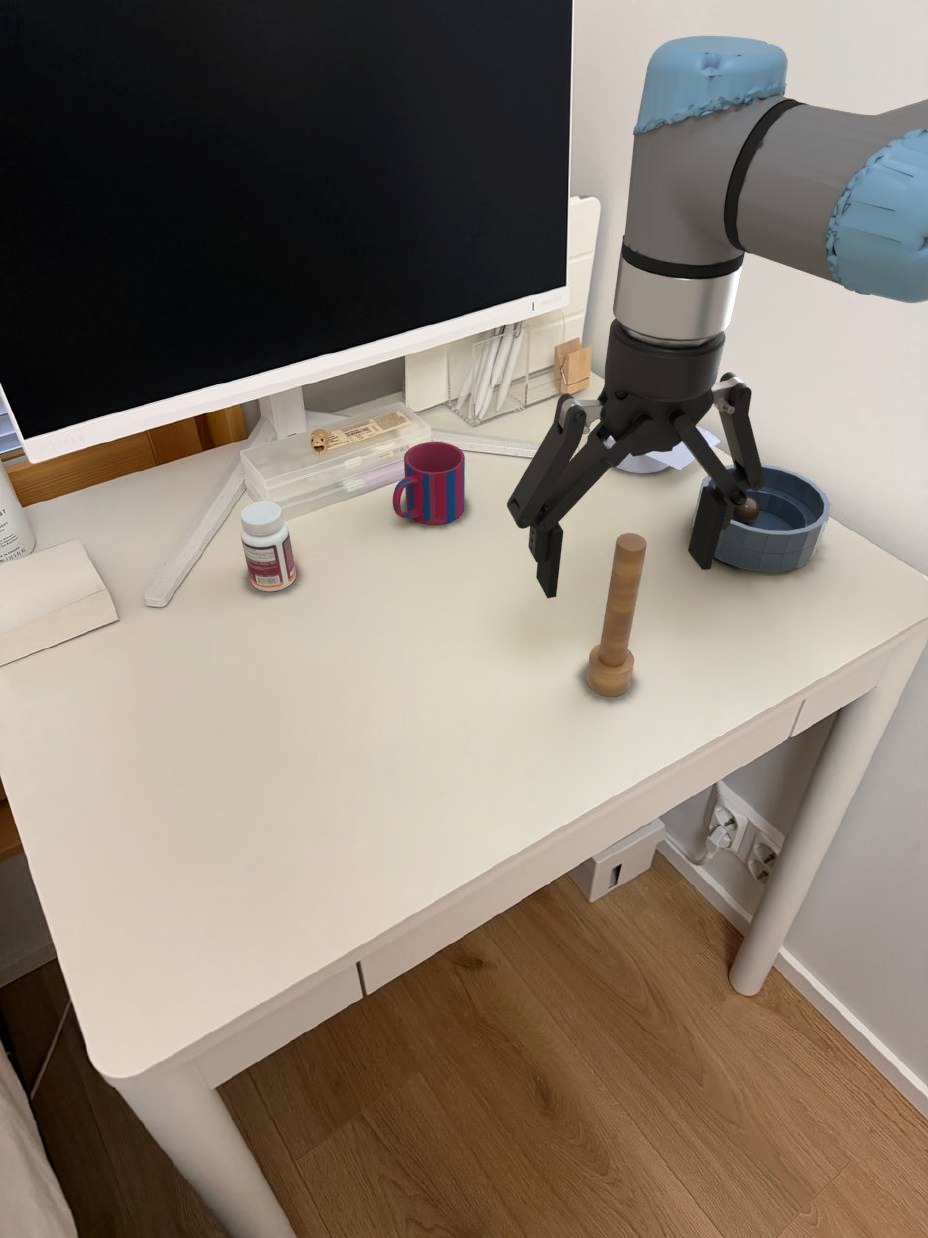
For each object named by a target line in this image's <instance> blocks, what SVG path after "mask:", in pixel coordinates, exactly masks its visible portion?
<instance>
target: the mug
mask: <svg viewBox="0 0 928 1238" xmlns="http://www.w3.org/2000/svg"><path fill="white" fill-rule="evenodd" d="M465 463H466V456H465V453H464V452H463V451H462V450H461V449H460V448H459V447H458V446H456V445H454V444H451V443H449V442H443V441H426V442H421V443H418V444H416V445H414V446H411V447H410V448H409V449H407V450H406V452H405V453H404V455H403V469H404V478H402V479H401V480H400V481H398V483H397V484H396V485H395V487H394V490H393V493H392V508H393V511H394V513H395V514H396V515H397V516H398V517H400V518H402V519H406V520H411V519H412V520H414V521H416V522H418V523H421V524H423V525H424V524H425V525H429V526H430V525H431V526H433V525H434V526H439V525H440V526H441V525H445V524H449V523H452V522H454V521H456V520H458V519H459V518H460V517H461V516H462V515H463V514H464V511H465V486H466V485H465V484H466V483H465V481H466V480H465V475H466V474H465V472H466V471H465V470H466V467H465V466H466V464H465ZM404 490H405V508H406V509H405V510H406V512H403V510H402V506H401V505H402V504H401V499H402V495H403V492H404Z"/></svg>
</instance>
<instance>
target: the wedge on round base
mask: <svg viewBox="0 0 928 1238" xmlns="http://www.w3.org/2000/svg"><path fill="white" fill-rule="evenodd" d="M696 427H697V429H698V430H699V432H700V433H701V434H702V436H703V437H704V438H705V440H706V441H707V442H708V445H709V446H710V447H711V449H713V448H714V447H715V446H717V445H718V444H719V443H721V442H722V440H720V439H719V438H718V437H716V436H715V435H714V434H713V433H711V432H710V431H709V430H707V429H704V428H702V427H700V426H697V425H696ZM615 443H616V442H615V441H614V439H613V438H612V436H610V437H609V438H608V439H607V444H608V445H609V446H610V448H611V447H612V446H613V445H614V444H615ZM695 460H696V459H695V457H694V456H693V455H692V453H691V452H690V451H689V450H688V448H687V447H686V446H685V444H684V443H683V442H681V443H679V444H678V445H677V446H675V447H673V450H672V451H668V452H656V451H652V452H650V453H647V454H645V455H641V456H634V457H633V456H632V455H631V454H629V455H628V456H627V457H626V458H625V459H624V460H623V461H622V462H621V463H620V464H619V465H618V466H617V467H616V469H619V470H621V471H625V472H630V473H635V474H636V473H637V474H650V473H657V472H660V471H663V470H665V469H667V468H668V467H671V468H674V469H676V470H678V471H681V470H683V469H684V468H685V467H686V466H688V465H690V464H691V463H693V462H694V461H695Z"/></svg>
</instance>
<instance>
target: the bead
mask: <svg viewBox="0 0 928 1238" xmlns="http://www.w3.org/2000/svg"><path fill="white" fill-rule="evenodd" d="M759 513H760V506H759V504H758V502H757V501H756V500H755V499H754V498H752V497H747V501H746V502H745V503H744V504H743V505H742V506H739V507H734V511H733V514H732V515H733V517H734V519H735V520H736V521H738V522H740V523H744V524H747V523H751V522H753V521H754V520H756V519H757V517H758V516H759Z"/></svg>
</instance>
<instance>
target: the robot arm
mask: <svg viewBox="0 0 928 1238" xmlns="http://www.w3.org/2000/svg"><path fill="white" fill-rule="evenodd" d="M788 61H789V60H788V57H787V53H786V52H785V51H784V49H783V48H781V46H779V45H776V44H773V43H769V42H767V41H764V40H761V39H755V38H751V37H750V38H748V37H740V36H730V35H693V36H684V37H678V38H674V39H671V40H668V41H666V42H664V43H663V44H661V45H660V46H658V48H656V49H655V50H654V52H653V53H652V54H651V56H650V58H649V61H648V64H647V67H646V72H645V78H644V83H643V89H642V93H641V99H640V104H639V110H638V115H637V119H636V120H637V121H636V124H635V125H634V127H633V131H632V132H633V133H632V135H633V142H632V143H633V144H632V155H631V165H630V174H629V175H630V176H629V186H628V197H627V206H626V216H625V217H626V218H625V227H624V234H623V235H622V241H621V247H620V252H619V259H618V268H617V275H616V283H615V288H614V289H615V290H614V297H613V305H612V314H613V316H614V319H613V320H612V321H611V323H610V326H609V332H608V334H609V335H608V340H607V349H606V356H605V363H604V385H603V388H602V390H601V392H600V394H599V395H598V397H597V399H577V398H576V397H574V395H573V394H572V393H569V392H565V393H563V394H561V395H560V397H559V398H558V400H557V403H556V408H555V412H554V418H553V422H552V424H551V426H550V428H549V429H548V431H547V433H546V435H545V437H544V438H543V440H542V441H541V444H540V445H539V447H538V449H537V450H536V452H535V454H534V456H533V457H532V459H531V461H529V464H528V466H527V467H526V469H525V471H524V473H523V474H522V476H521V478H520V479H519V481H518V483H517V484H516V486H515V488H514V490H513V492H512V494H511V495H510V497H509V498H508V500H507V501H506V507H507V510H508V511H509V513H510V515H511V517H512V518H513V521H514V523H515V524H516V527H518V528H519V529H522V530H524V529H527V528H529V532H528V533H529V534H528V545H527V547H528V549H529V552H530V554H531V555H532V557H533V560H534V561H535V563H537V564H536V573H535V574H536V575H535V578H536V580H537V582H538V584H539V585H540V587H541V590H542V592H543V594H544V596H545V597H546V599H552V598H557V593H558V583H559V575H560V567H561V559H562V558H561V557H562V549H563V540H564V539H563V538H564V529H563V527H562V526H561V525H560V521H561V520H562V519H563V518H565V516H566V515H567V514H568V513H569V512H571V510H572V509H573V508H574V507H575V505H576V504H577V503H578V502H579V501H581V499H582V498H583V497H584V496H585V495H586V494H587V493H588V492H589V490H590V489H592V488H593V486H595V485H596V483H597V482H598V481H599V480H600V479H601V478H602V476H604V475H605V473H607V471H608V470H610V468H617V466H618V465H619V464H620V463H621V462H622V461H623V460H624V459H625V458H626V457H627V456H628V455H629V454H631V455H632V456H633V457H634V456H641V455H645V454H647V453H650V452H652V451H656V452H668V451H672V450H673V447H675V446H677V445H678V444H679V443H681V442H683V443H684V444H685V446H686V447H687V448H688V450H689V451H690V452H691V453H692V455H693V456H694V457H695V460H696V461H697V463H698V464H699V465H700V467H701V468H702V469H703V470H704V472H705V473H706V475H708V476H709V477H710V478H711V479H712V481H713V482H714V483H715V485H716V487H715V489H714V488H713V486H712V485H711V486H705V487H703V489H702V493H701V498H700V502H699V506H698V510H697V514H696V518H695V523H694V527H693V529H692V531H691V536H690V540H689V543H688V548H687V553H688V554H689V555H690V556H691V557H692V559H693V560H694V561H695V563H696V564H697V565H698V568H700V570H701V571H708V570H712V567H713V562H714V559H715V557H714V555H715V551H716V548H717V544H718V540H719V536H720V533H721V531H722V530H726V529H727V528H728V526H729V525H730V522H731V518H732V514H733V511H734V507H739V506H742V505H743V504H744V503H745V502H746V501H747V495H746V494H745V493H744V492H745V491H747V490H749V489H752V490H753V491H758V490H760V489H761V488H762V487H763V486H764V484H765V478H764V474H763V470H762V466H761V464H762V463H761V459H760V455H759V451H758V446H757V443H756V438H755V435H754V430H753V428H752V423H751V419H750V415H749V413H750V409H751V408H750V407H751V402H752V401H751V400H752V389H751V388H750V387H749V386H748V385H747V384H746V383H745V382H743V380H741V379H740V378H739V376H737V375H736V374H735V373H734V372H732V371H727V372H726V373H724V374H723V375H722V376H721V377H720V379H719V381H718V382H717V379H718V374H719V370H720V365H721V361H722V356H723V352H724V347H725V343H726V339H727V338H726V333H725V330H726V329H727V327H728V326H729V325H730V324H731V320H732V319H731V318H732V315H733V311H734V306H735V301H736V296H737V292H738V286H739V283H740V277H741V273H742V268H743V263H744V259H745V254H746V253H747V254H750V255H754V256H758V257H759V258H763V259H765V260H769V261H772V262H774V263H777V264H780V265H783V266H786V267H789V268H792V269H795V270H798V271H801V272H803V273H806V274H809V275H812V276H815V277H817V278H821V279H824V280H825V281H829V282H832V283H834V284H838V285H839V286H842V287H843V288H844V289H845V290H847V291H849V292H854V293H856V294H859V295H863V296H875V297H879V298H884V299H888V300H893V301H897V302H901V303H904V304H921V303H924V302H925V303H926V302H928V98H927V99H923V100H921V101H920V100H919V101H918V102H914V103H910V104H908V105H904V106H900V107H897V108H894V109H891V110H887V111H884V112H882V113H878V114H863V113H856V112H849V111H845V110H838V109H835V108H829V107H828V108H827V107H823V106H817V105H811V104H808V103H806V102H801V101H798V100H797V99H795V98H790V97H786V96H785V95H786V88H787V86H788V84H787V73H788V67H789V66H788V64H789V63H788ZM712 406H714V407H715V408H716V409H717V410H718V414H719V418H720V421H721V425H722V429H723V432H724V436H725V438H726V443H727V446H728V449H729V453H730V457H731V459H732V465H734V467H735V470H734V471H732V472H730V473H729V472H728V470H727V469H726V468H725V466H726V465H724V464H723V462H722V461H721V459H720V458H719V457H718V455H717V454H716V453H715V451H714V450H713V448H711V447H710V446H709V445H708V442H707V441H706V440H705V438H704V437H703V436H702V434H701V433H700V432H699V430H698V429H697V427H698V426H697V425H698V424H699V423H700V421H701V420H702V419H703V418H705V416H706V415H707V414H708V413H709V411H710V410H711V408H712ZM597 420H599V422H598V423H597V424H596V426H594V428H593V429H592V430H591V428H590V427H591V425H592V424H593V423H594V422H595V421H597ZM696 426H697V427H696ZM583 435H587V439H586V443H585V444H584V445H583V446H582V447H581V448H580V449H579V450H578V451H577V449H578V447H579V446H580V443H581V441H582V438H583ZM610 436H612V438H613V439H614V441H615V442H616V443H615V444H614V445H613V446H612V447H611V448H610V446H609V445H608V444H607V439H608V438H609V437H610ZM576 451H577V452H576ZM575 453H576V454H575ZM574 454H575V455H574Z"/></svg>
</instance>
